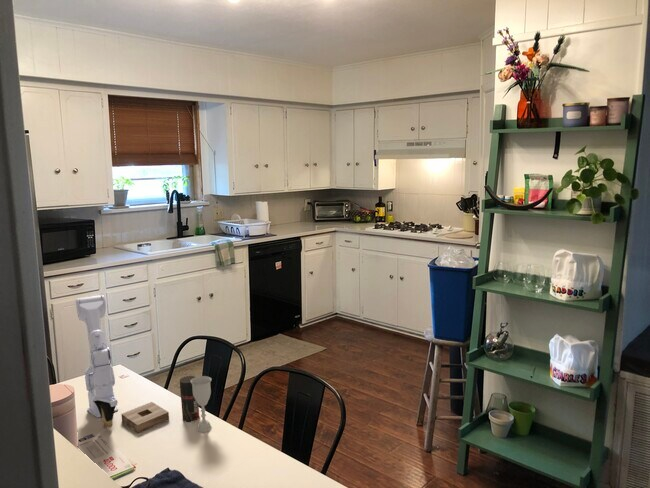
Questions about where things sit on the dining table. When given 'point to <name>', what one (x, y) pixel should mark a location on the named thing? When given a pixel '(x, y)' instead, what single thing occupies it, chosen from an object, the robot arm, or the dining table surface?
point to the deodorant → (188, 400)
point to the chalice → (202, 398)
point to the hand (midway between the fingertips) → (107, 418)
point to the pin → (105, 423)
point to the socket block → (145, 417)
